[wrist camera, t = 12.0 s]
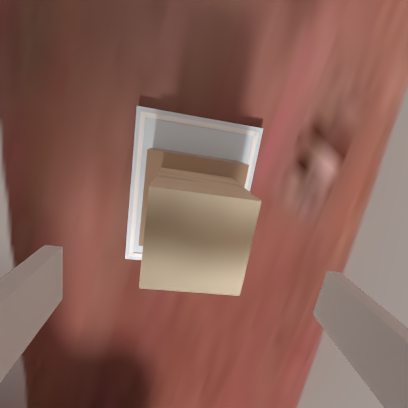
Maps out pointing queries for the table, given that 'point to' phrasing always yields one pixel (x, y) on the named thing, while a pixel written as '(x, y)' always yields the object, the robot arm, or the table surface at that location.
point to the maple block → (197, 233)
